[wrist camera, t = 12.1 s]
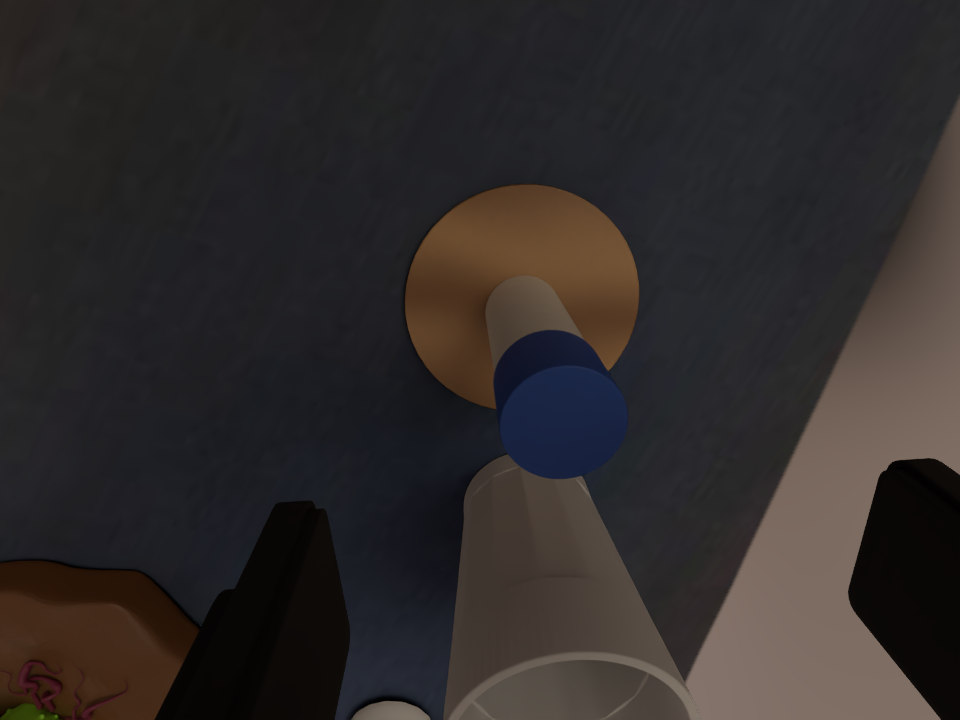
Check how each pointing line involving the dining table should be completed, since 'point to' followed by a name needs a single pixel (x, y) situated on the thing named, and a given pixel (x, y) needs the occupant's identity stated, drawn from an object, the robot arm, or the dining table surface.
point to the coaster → (509, 253)
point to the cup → (551, 612)
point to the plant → (86, 643)
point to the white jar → (390, 712)
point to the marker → (550, 384)
